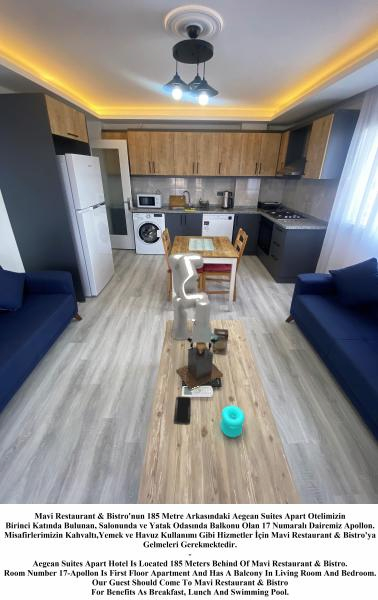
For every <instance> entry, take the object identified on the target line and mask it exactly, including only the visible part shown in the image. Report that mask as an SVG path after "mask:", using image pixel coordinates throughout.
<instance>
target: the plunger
mask: <svg viewBox="0 0 378 600" xmlns="http://www.w3.org/2000/svg"><path fill="white" fill-rule="evenodd" d="M195 343H196V346H195V347H196V351H197V352H199V353H200V354H201V353H202V352H204V351H205V346H206V343H207V342H195ZM206 347H207V346H206Z"/></svg>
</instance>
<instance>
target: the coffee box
mask: <svg viewBox="0 0 378 600" xmlns="http://www.w3.org/2000/svg"><path fill="white" fill-rule="evenodd" d="M213 334H215V335H217V336H218V338H217V339H216V340H215V342H213V344H212V348H211V352H212V353H213V355H220V356H221V355H222V356H227V349H228V344H229V343H228V342H229V329H223V328H213ZM213 338H214V337H212V339H213Z"/></svg>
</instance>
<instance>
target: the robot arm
mask: <svg viewBox="0 0 378 600" xmlns="http://www.w3.org/2000/svg"><path fill="white" fill-rule="evenodd" d="M168 265H169V268H170V271H171V273H172V274H171V275H172V284H173V285H172V288H173V291H174V293H175V294H178V295H175V296H174V297H173V298H172V300H171V305H172V309H173V326H172V328H173V330H172V332H171V338H172V339H174V340H176V341H184V340H186V341H187V342H189V345H190V348H192V349H193V347H194V343H196V342H206V343H208V349H209V350H210V351H211V349H212V345H213V342H215V340H216V339H217V338H218V336H217V335H215V334H214V332H212V324H211V323H210V321H211V320H210V319H211V305H212V303H211V301H210V300H209V295H208V294H207V293H206V292H203V291H202V292H198V290H199V289H198V282H197V280H198V279H199V274H198V271H197V269H202V268H203V266H204V257H203V256H202V255H201V254H200V253H197V252H179V253H172V254H170V255H169V257H168ZM194 308H195V310H194V312H195V313H194V319H191V322H192V323H193V324H192V330H191V332H189V331H188V312H187V311H186V310H187V309H194ZM213 337H214V338H213Z"/></svg>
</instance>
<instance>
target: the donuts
mask: <svg viewBox="0 0 378 600" xmlns="http://www.w3.org/2000/svg"><path fill="white" fill-rule="evenodd" d="M221 418H222V419H221V421H220V425H219V426H220V430H221V432H222V433H223V434H224V435H226V436H227V437H228V438H229V437H230V438H237V437H239V436H240V435H241V434H242V432H243V430H244V429H243V423H244V422H245V419H246V418H245V413H244V411H243V410H242V409H241V408H240V407H238V406H237V405H228V406H226V407H224V408H223V410H222V411H221Z"/></svg>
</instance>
